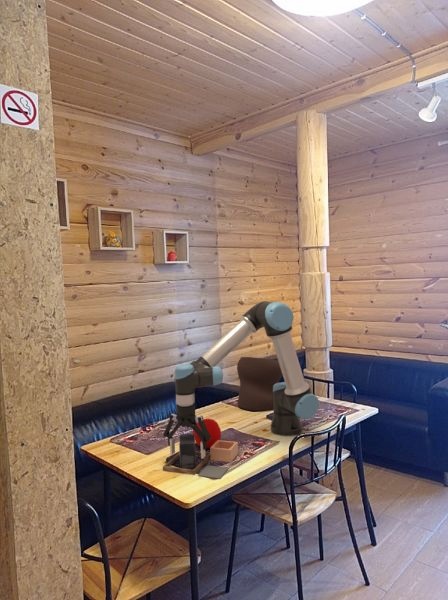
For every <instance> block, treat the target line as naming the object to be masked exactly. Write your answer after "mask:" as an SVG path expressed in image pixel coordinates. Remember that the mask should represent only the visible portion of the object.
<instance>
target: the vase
mask: <svg viewBox="0 0 448 600" xmlns="http://www.w3.org/2000/svg"><path fill="white" fill-rule="evenodd" d="M236 370H237V375H238V378H239V392H238V399H237V406H238V407H239V408H241V409H242V410H245V411H251V412H264V411H271V410H274V404H273V386H274V384H276V383H280V381H281V379H282V378H283V375H282V371H281V368H280V365H279V362H278V359H272V358H271V359H269V358H261V357H251V356H241V357H240V358H239V359H238V362H237V365H236Z"/></svg>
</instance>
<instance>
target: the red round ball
mask: <svg viewBox="0 0 448 600" xmlns="http://www.w3.org/2000/svg"><path fill="white" fill-rule="evenodd" d="M203 421H204V423H205V425H206V427H207V429H208V431H209V433H210V435H211V439H210V440H209V441H207V449H208V448H209V449H210V447H211V446H212V445H213V444H214V443H215V442H216V441H217V440H221V437H222V431H221V428H220V425H219V424H218V422H217V421H216V420H215V419H211V418H203ZM196 423H197V426H198V427H199V428H200V426H199V423H198V422H197V421H196ZM200 429H201V428H200ZM201 431H202V430H201ZM193 433H194V435H195V444H197V446H198V447H200V448H201V443H200V442H201V441H202V440H201V439H200V438H199V436H198V435H197V434H196V433H195V431H194V430H193V429H192V434H193Z"/></svg>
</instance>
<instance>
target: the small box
mask: <svg viewBox="0 0 448 600" xmlns="http://www.w3.org/2000/svg"><path fill="white" fill-rule="evenodd" d="M178 445H179V448H178V449H179V452H180V458H179V463H180V464H179V466H180V468H183V469H191V470H194V469H195V468H196V467H197V456H196V452H195V451H196V441H195V435H194V433H193V432H192V433H185V434H180V435H179V443H178ZM179 452H178V453H179Z"/></svg>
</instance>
